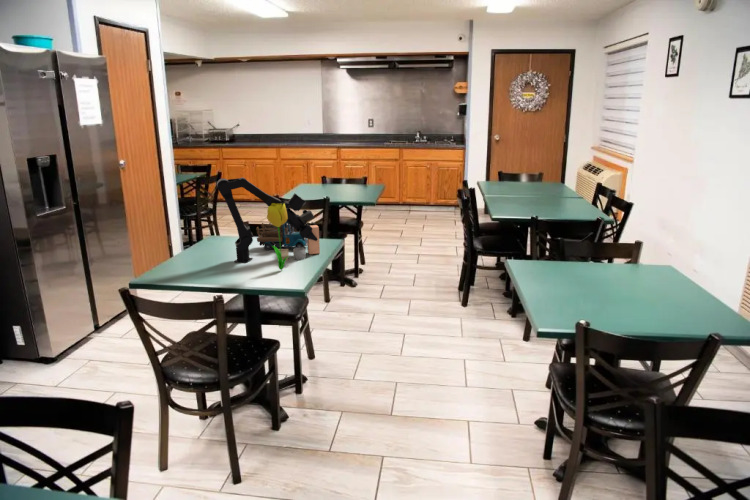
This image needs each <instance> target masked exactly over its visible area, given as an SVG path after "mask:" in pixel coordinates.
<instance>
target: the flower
mask: <svg viewBox="0 0 750 500" xmlns="http://www.w3.org/2000/svg"><path fill="white" fill-rule="evenodd" d="M266 219H267V221H268V222H269V223H271V224H270V225H274V226H273V227H278V232H279V231H280V230H279V227H280V226H281V225H282V224H284V223H285V222H286V221H287V219H288V217H287V210H286V207H285V204H283V205H282V203H280V204H279V203H277V204H275V203H272V204H271V205H270V206H268V205H267V215H266ZM281 227H282V226H281ZM279 241H280V232H279ZM272 249H274V253H275V255H276V257H277V264H278V266H277V267H278V269H279V270H280V271H281V272H283V269H284V267H285V263H286V261H285V260H286V258H287V257H288V256H287V257H286V258H285V259H284V260H282V256H281V254H280V253H281V249H282V247H281V244H280V247H275V245H274V246H272ZM279 249H280V251H279Z"/></svg>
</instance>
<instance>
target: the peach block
mask: <svg viewBox="0 0 750 500" xmlns="http://www.w3.org/2000/svg"><path fill="white" fill-rule="evenodd" d="M310 226H311V227H312V228H313V229H312V233H313V234H314V235H315V236H316V238H317V239H318V240H317V241H315V240H311V239H308V238H307V244H308V245H307V253H308V254H309V255H318V254H321V248H320V247H321V246H320V228H319V227H320V226H318V225H317V224H313V225H310Z"/></svg>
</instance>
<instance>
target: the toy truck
mask: <svg viewBox="0 0 750 500" xmlns="http://www.w3.org/2000/svg"><path fill="white" fill-rule="evenodd" d="M260 227H261V228H259V226H257V227H256V229H255V230H256V234H257V235H258V236H257V237H256V241H257V243H259V244H258V245H259V247H260V246H261V247H262V246H263V247H264V249H265V250H266V251H270V250H271V249H273V247H272V246H275V247H277V248H280V244H281V248H291V247H295V248H305V247H308V244H307V238H303V237H301V236H300V231H299V232H298V231H294V229H295V228H293V227H292V226H290V224H289V223H287V222H285V223H284V224H282V225H281V226H280V227H279V232H280V241H279V232H278V227H276V226H274V225H273V224H271V223H270V222H269V223H268V224H266V225H265V224H264V223H263V222H262V223H261V225H260Z"/></svg>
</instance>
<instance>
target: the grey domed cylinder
mask: <svg viewBox="0 0 750 500" xmlns="http://www.w3.org/2000/svg"><path fill="white" fill-rule="evenodd" d="M292 251H293V259H294V260H297V261H300V260H301V261H302V260H305V259H306V258H307V257H306V256H307V255H306V248H305V247H303V248H296V247H294V248H293V249H292Z"/></svg>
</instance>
